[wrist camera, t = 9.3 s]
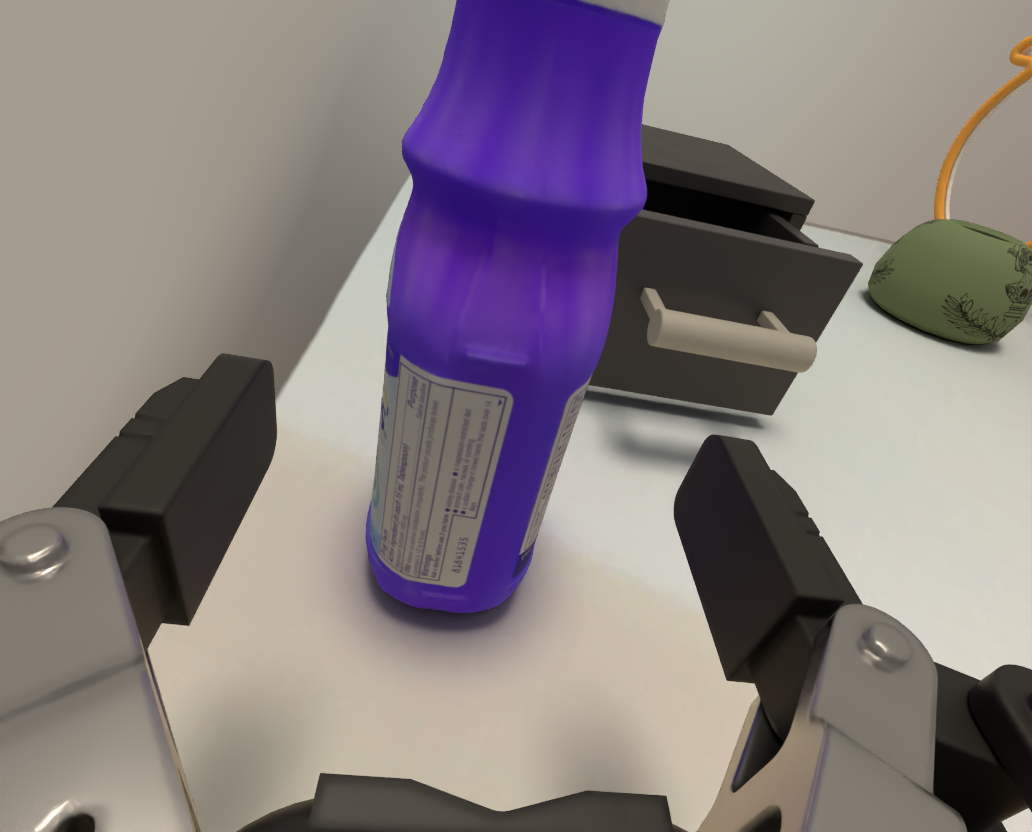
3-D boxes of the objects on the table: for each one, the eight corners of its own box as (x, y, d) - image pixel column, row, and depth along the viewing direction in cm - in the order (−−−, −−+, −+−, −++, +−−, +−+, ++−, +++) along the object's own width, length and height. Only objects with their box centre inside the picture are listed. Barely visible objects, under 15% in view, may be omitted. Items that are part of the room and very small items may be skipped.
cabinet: (732, 364, 37) (816, 200, 31) (530, 327, 35) (576, 145, 29) (676, 276, 49) (728, 144, 43) (523, 245, 47) (554, 103, 41)
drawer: (806, 468, 27) (921, 304, 22) (557, 430, 26) (618, 242, 20) (701, 307, 42) (756, 185, 36) (537, 275, 40) (570, 142, 35)
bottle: (389, 462, 23) (446, -98, 13) (524, 484, 24) (680, -32, 13) (343, 619, 17) (382, -186, 7) (524, 642, 18) (802, -62, 8)
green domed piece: (959, 359, 47) (1036, 262, 42) (832, 290, 55) (883, 202, 50) (1035, 345, 55) (1108, 262, 50) (913, 286, 63) (965, 210, 58)
